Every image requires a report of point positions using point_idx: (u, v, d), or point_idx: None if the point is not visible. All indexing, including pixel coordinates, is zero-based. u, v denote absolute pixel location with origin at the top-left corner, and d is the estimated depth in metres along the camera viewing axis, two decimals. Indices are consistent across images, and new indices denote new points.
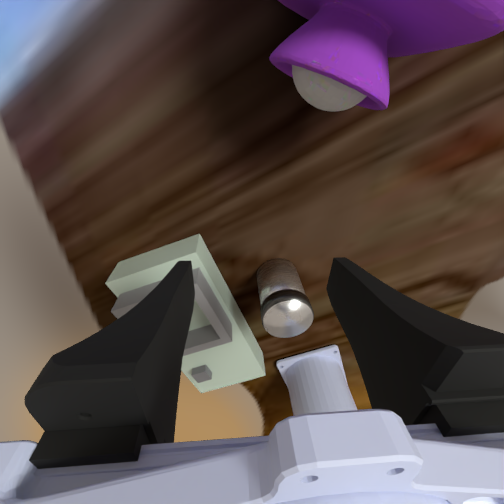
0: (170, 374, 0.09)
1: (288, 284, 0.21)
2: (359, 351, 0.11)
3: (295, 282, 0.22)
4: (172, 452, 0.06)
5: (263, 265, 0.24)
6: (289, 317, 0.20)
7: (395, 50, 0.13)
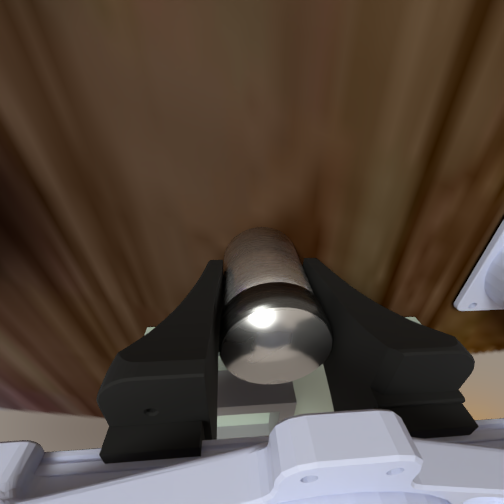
0: (215, 372, 0.09)
1: (227, 293, 0.10)
2: None
3: (239, 274, 0.11)
4: None
5: None
6: (267, 348, 0.09)
7: None
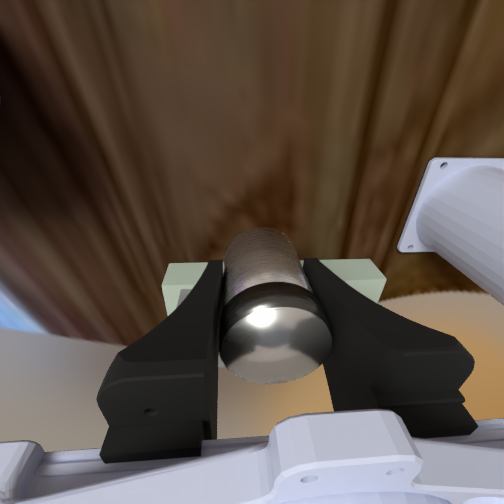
0: (215, 372, 0.09)
1: (227, 293, 0.10)
2: None
3: (239, 274, 0.11)
4: None
5: None
6: (267, 348, 0.09)
7: None
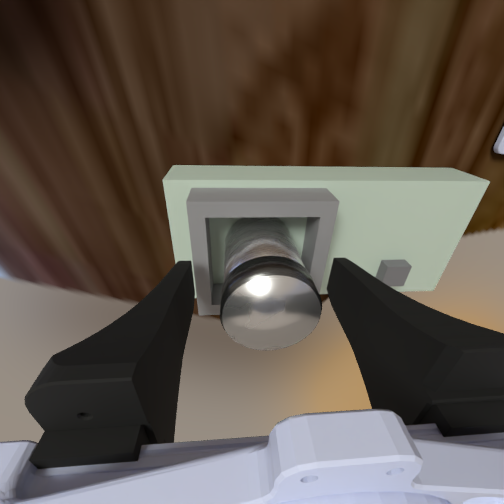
0: (170, 374, 0.09)
1: (228, 268, 0.12)
2: (359, 351, 0.11)
3: (239, 251, 0.12)
4: (172, 452, 0.06)
5: None
6: (263, 314, 0.10)
7: None
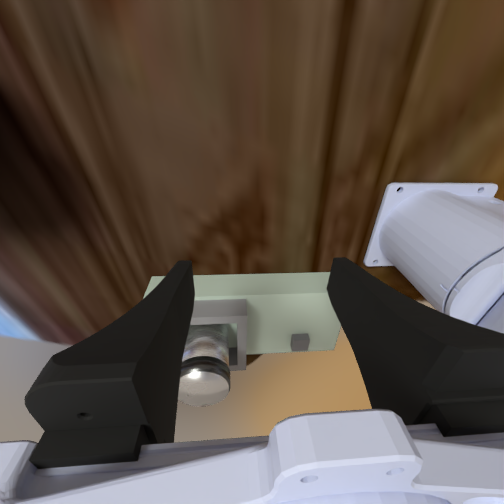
0: (170, 374, 0.09)
1: None
2: (359, 351, 0.11)
3: (186, 348, 0.20)
4: (172, 452, 0.06)
5: None
6: (196, 389, 0.19)
7: None
